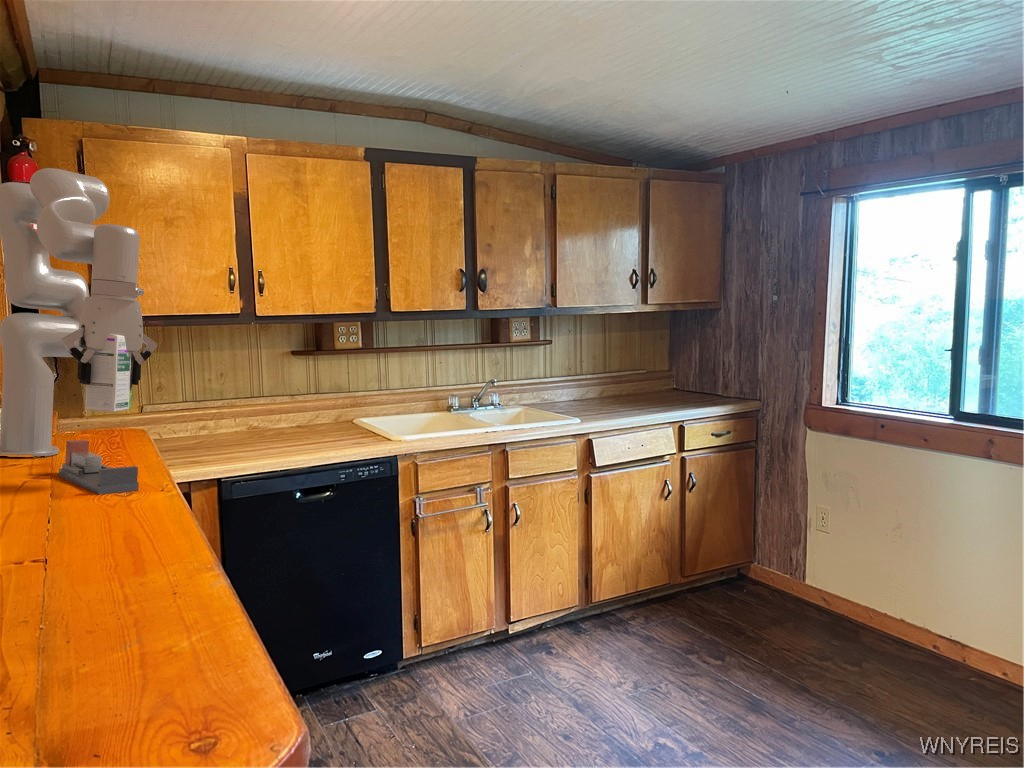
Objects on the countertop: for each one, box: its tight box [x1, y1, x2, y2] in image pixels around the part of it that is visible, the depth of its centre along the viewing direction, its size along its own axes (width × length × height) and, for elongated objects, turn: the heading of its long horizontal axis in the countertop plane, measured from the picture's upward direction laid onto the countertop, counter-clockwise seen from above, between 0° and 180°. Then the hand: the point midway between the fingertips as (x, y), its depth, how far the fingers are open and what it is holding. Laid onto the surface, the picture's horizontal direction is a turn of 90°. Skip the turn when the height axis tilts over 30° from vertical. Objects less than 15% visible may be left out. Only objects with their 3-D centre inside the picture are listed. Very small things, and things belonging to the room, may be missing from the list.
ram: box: [64, 439, 103, 473], centre depth 140 cm, size 9×3×5 cm, turn 51°
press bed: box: [58, 462, 140, 495], centre depth 136 cm, size 19×7×4 cm, turn 51°
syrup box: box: [84, 334, 133, 413], centre depth 133 cm, size 6×6×14 cm
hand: (109, 383), depth 133 cm, fingers closed on syrup box, 8 cm apart
